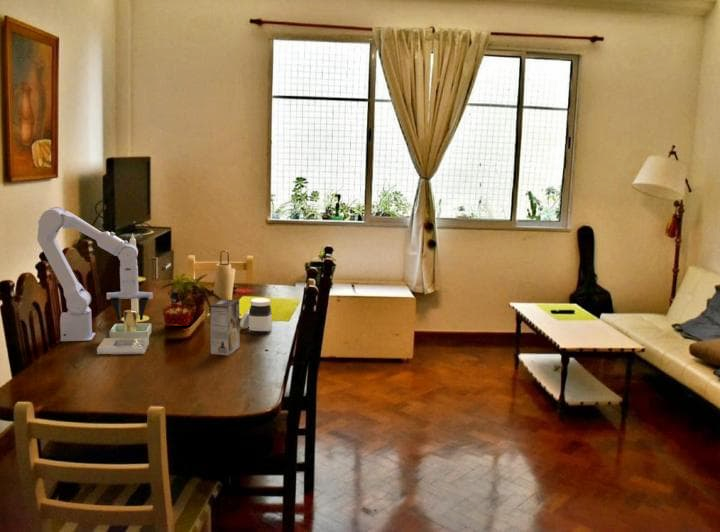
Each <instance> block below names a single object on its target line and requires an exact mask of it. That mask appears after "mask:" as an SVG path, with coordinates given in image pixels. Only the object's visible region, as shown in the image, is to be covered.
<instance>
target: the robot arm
mask: <svg viewBox="0 0 720 532" xmlns="http://www.w3.org/2000/svg"><path fill="white" fill-rule="evenodd" d="M37 224H38V227H37V228H38V229H37V237H36V238H37V239H36V240H37V242H38V244H39V246H40V248H41V250H42V252H43V253H44V255H45V257H46V260H47V262H48V263H49V266H50V267H51V269H52V270H53V273H54V274H55V277H56V278H57V280H58V282H59V284H60V286H61V287H62V290H63V296H64V298H65V301H66V302H65V303H66V309H67V311H66V312H61V314H60V318H59V327H60V342H80V341H81V342H83V341H84V342H89V341H92V340H93V338H94V337H95V336H96V332H93V323H92V322H93V320H92V309H91V307H89V305H90V304H91V302H92V295H91V293H90V292H88V291H87V290H86V289H85V288H84V286H83V285H82V284H81V283H80V282H79V280H78V279H77V278H76V276H75V273H74V272H73V270H72V267H71V265H70V264H69V262H68V260H67V258H66V256H65V254H64V252H63V250H62V249H61V247H60V245H59V243H58V241H57V239H56V238H57V236H58V234H59V232H60V230H61V228H62V229H74V230H76V231H78V232H79V233H82V234H83V235H85V236H88V237H89V238H91V239H93V240H95V241H96V244H97V247H99V248H101V249H103V250H104V251H106V252H108V253H110V254H111V255H113V256H115V257H117V258H118V260H119V261H120V262H119V265H120V266H119V279H120V280H119V282H120V283H119V284H120V286H119V287H120V291H114V292H113V291H112V292H106V300H110V304H111V306H112V307H113V309H114V311H115V314H116V317H117V321H121V319H122V309H121V306H122V305H121V303H122V300H127V299H130V300H131V299H138V306H139V315H140V320H142V319H143V315H144V314H145V309H146V306H147V304H148V302H149V300H152V299H153V292H150V291H139V282H138V277H139V266H138V254H139V249H138V247H137V245H136V246H134V245H133V244H132V243H130V242H129V241H128V240H123V239H122V238H120V237H118V236H117V235H116V232H113V231H111V232H109V231H108V230H107V231H100V230H99V229H97V228H96V227H94V226H93V225H91V224H90V223H88V222H86V220H83V219H82V218H81V217H79V216H77V215H76V214H74V213H72V212H71V211H69V210H65V209H64V208H62V207H61V206H53V207H52V208H50V209H47V210H45V211H44V212H43V213H42V214H41V215H40V217H39V219H38V223H37Z"/></svg>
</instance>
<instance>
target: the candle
mask: <svg viewBox="0 0 720 532" xmlns="http://www.w3.org/2000/svg"><path fill="white" fill-rule="evenodd" d="M129 243H132V244H133V245H134V246H136V247H137V240H136V238H135V235H134V232H132V234H131V237H130V239H129ZM146 280H147V277H145V276H138V283H142V282H145V281H146ZM130 306H131V307H130V310H136V312H137V324H139V323H144V322H147V321H149V320H150V317H149V316H148V315H144V314H143V319H142V320H140V310H139V299H130ZM122 321H123V322H122ZM120 322H122V323H124V316H123V317H121V320H120ZM138 322H139V323H138Z"/></svg>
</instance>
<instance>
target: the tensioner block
mask: <svg viewBox="0 0 720 532" xmlns="http://www.w3.org/2000/svg"><path fill="white" fill-rule="evenodd" d="M149 344H150V337H149V338H109V337H103V339H102V341H101V342H100V344H99V345H98V346H97V348H96V355H98V356H100V355H99V354H111V355H145V353H146V351H147V348H148V347H147V346H149Z"/></svg>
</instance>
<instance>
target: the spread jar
mask: <svg viewBox="0 0 720 532" xmlns="http://www.w3.org/2000/svg"><path fill="white" fill-rule="evenodd" d="M272 311H273V310H272V306H271V299H269V298H266V297H265V298H264V297H256V298H252V299H251V300H250V307H249V310H247V311H245V313H243V315H242V317H241V319H240V321H239V327H241V328H243V329H244V330H246V328H247V329H248V331H249V333H251V334H252V335H256V334H258V336H260V335H261V336H262V335H263V334H264V335H268V334H270V333H271V331H272V324H273V323H272V316H273V315H272V314H273V313H272ZM248 327H249V328H248Z"/></svg>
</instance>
